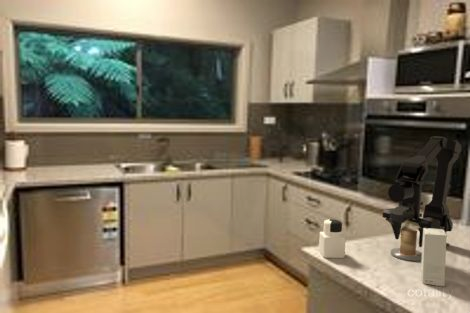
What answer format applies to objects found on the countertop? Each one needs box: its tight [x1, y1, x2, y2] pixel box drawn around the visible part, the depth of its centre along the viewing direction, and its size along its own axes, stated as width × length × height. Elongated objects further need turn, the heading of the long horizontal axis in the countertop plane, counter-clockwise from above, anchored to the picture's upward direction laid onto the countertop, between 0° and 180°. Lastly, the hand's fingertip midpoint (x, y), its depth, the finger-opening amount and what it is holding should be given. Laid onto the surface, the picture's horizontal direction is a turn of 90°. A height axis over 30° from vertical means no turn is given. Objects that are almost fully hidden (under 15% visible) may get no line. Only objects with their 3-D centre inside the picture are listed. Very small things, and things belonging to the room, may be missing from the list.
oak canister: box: [399, 227, 418, 256], centre depth 140 cm, size 5×5×8 cm
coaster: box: [390, 247, 422, 262], centre depth 140 cm, size 11×11×1 cm
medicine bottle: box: [318, 218, 346, 259], centre depth 139 cm, size 7×7×12 cm
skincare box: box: [420, 228, 448, 288], centre depth 119 cm, size 8×6×15 cm
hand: (408, 242), depth 140 cm, fingers open, 9 cm apart
